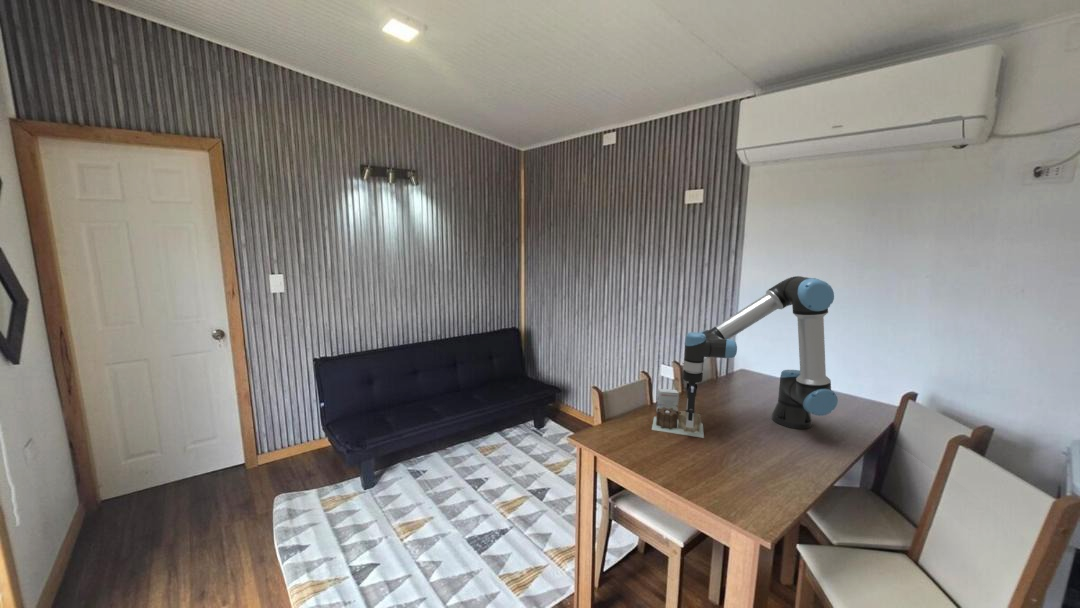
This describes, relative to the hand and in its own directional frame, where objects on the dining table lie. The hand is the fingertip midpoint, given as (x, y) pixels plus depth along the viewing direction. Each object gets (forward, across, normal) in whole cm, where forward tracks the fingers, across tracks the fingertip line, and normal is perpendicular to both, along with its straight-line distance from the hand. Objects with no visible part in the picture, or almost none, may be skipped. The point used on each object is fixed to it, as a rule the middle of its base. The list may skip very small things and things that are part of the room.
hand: (689, 420), depth 173 cm
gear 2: (+3, 0, 0) cm, 3 cm away
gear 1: (+3, 0, -9) cm, 9 cm away
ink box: (+5, -13, -9) cm, 16 cm away
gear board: (+4, 0, -4) cm, 6 cm away
